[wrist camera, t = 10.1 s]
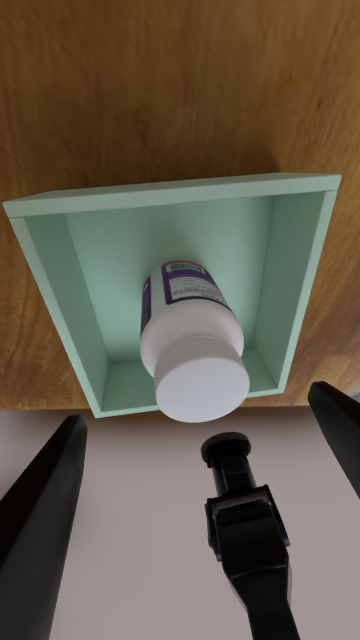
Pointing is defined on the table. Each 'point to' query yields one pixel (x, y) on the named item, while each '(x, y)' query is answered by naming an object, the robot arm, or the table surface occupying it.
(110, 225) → the bin
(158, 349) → the pill bottle
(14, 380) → the table surface
